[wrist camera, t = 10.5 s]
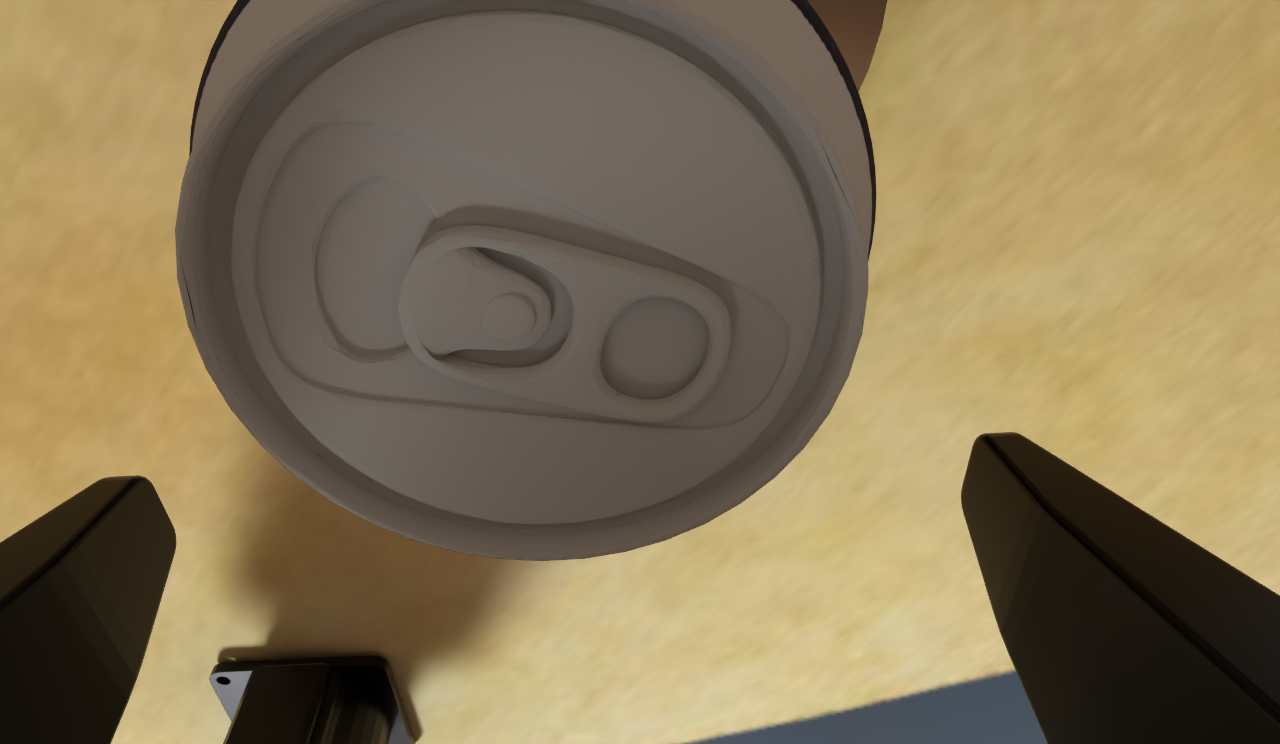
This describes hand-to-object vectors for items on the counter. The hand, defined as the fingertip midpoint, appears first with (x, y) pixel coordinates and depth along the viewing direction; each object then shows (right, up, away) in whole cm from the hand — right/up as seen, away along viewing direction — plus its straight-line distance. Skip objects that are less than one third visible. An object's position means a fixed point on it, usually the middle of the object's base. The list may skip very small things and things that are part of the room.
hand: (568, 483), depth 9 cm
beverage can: (0, +8, +7) cm, 11 cm away
